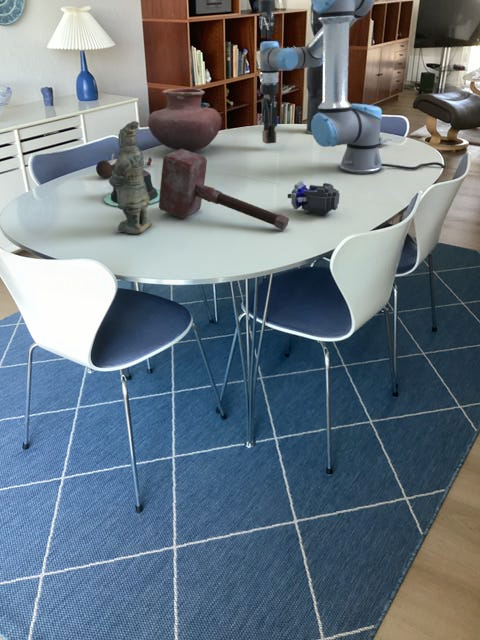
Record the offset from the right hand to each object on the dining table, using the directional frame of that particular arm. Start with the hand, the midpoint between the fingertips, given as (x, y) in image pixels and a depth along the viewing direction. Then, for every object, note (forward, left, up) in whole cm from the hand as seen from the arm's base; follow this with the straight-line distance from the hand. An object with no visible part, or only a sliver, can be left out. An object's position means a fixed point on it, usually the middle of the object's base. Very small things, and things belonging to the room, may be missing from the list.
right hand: (269, 141), depth 239 cm
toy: (-12, +81, -3) cm, 82 cm away
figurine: (+57, +33, -3) cm, 65 cm away
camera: (-45, -6, -3) cm, 46 cm away
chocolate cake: (+47, +64, -3) cm, 80 cm away
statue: (+41, +94, -3) cm, 102 cm away
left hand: (0, -57, +36) cm, 68 cm away
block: (0, 0, 0) cm, 0 cm away
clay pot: (+36, +1, -3) cm, 36 cm away
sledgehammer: (+15, +87, -3) cm, 89 cm away
